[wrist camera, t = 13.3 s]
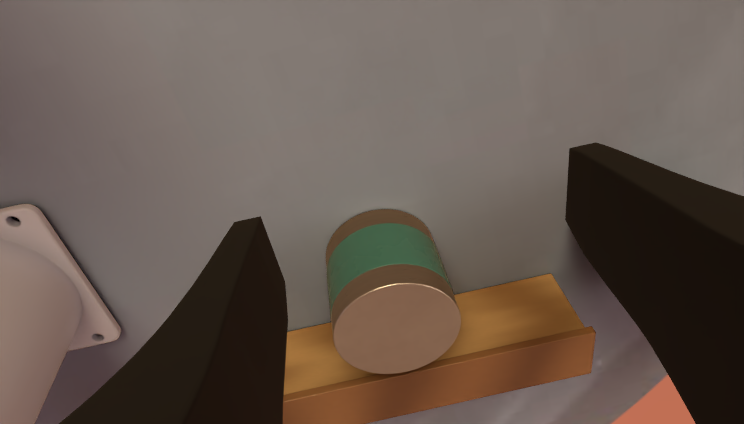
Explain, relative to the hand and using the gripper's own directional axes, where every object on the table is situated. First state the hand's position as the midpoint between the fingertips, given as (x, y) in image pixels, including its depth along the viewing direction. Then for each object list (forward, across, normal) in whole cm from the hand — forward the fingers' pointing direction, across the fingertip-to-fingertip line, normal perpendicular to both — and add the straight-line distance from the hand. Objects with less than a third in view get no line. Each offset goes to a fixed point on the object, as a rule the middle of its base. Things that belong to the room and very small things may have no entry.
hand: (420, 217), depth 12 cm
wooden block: (+9, +2, +14) cm, 17 cm away
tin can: (+9, +1, +9) cm, 13 cm away
